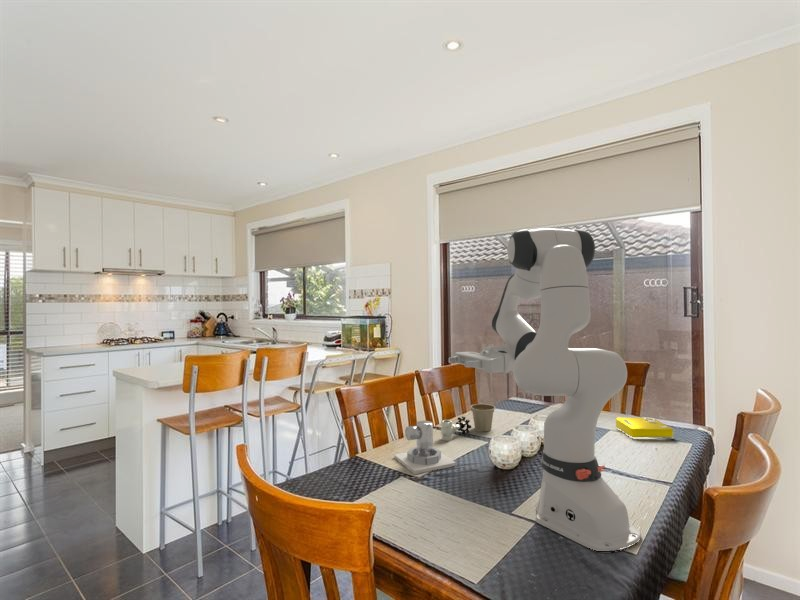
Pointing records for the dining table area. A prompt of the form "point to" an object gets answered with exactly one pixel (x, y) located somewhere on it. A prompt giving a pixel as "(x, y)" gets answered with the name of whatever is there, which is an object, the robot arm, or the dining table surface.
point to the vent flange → (424, 461)
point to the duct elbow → (422, 437)
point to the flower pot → (482, 416)
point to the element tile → (644, 427)
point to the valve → (453, 428)
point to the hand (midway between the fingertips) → (457, 362)
